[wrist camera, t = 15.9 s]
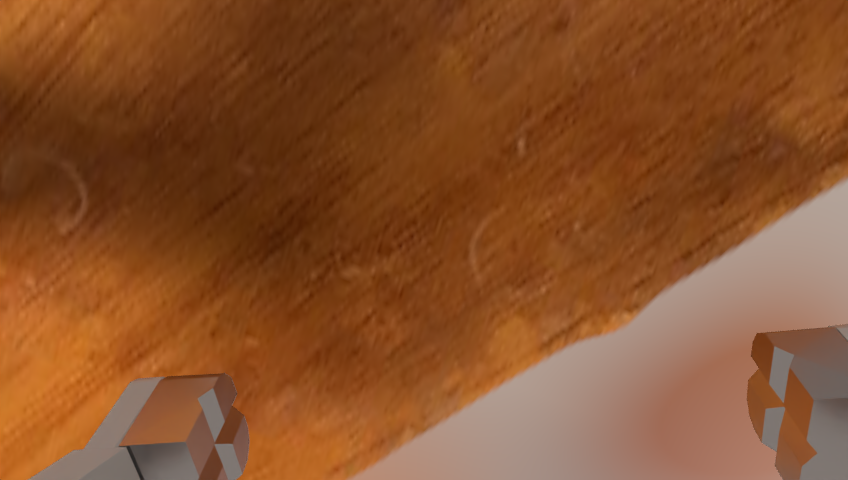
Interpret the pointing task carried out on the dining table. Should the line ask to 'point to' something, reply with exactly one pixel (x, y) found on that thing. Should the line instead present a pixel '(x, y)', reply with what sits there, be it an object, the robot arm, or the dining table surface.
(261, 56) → the dining table surface
